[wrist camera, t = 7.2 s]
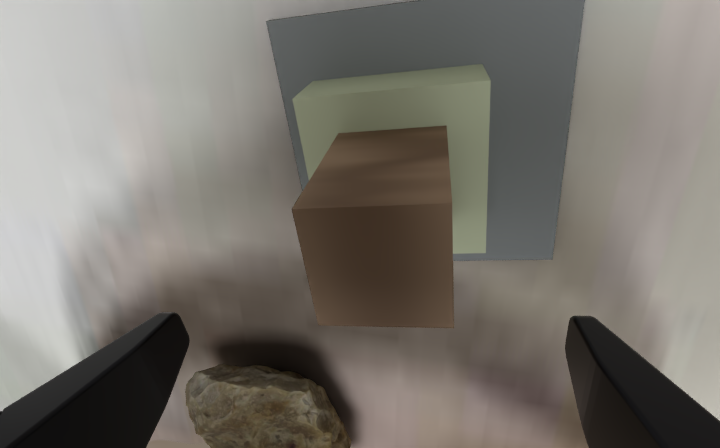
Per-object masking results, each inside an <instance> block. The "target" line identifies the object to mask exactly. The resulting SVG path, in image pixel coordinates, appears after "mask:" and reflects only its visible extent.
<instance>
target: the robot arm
mask: <svg viewBox="0 0 720 448" xmlns="http://www.w3.org/2000/svg"><path fill="white" fill-rule="evenodd" d="M188 346H189V335H188V333H187V331H186V328H185V326H184V324H183V322H182V320H181V317H180V316H179V315H178V314H177V313H175V312H162V313H159V314H157V315H155V316H154V317H152V318H151V319H149V320H147V321H146V322H144V323H142V324H141V325H139V326H138V327H136V328H134V329H133V330H131V331H129V332H128V333H126V334H125V335H123V336H121V337H120V338H118V339H116V340H115V341H113V342H112V343H110V344H108V345H107V346H105V347H103V348H102V349H100V350H99V351H97V352H95V353H94V354H92V355H91V356H89V357H87V358H86V359H84V360H82V361H81V362H79V363H78V364H76V365H74V366H73V367H71V368H69V369H68V370H66V371H65V372H63V373H61V374H60V375H58V376H56V377H55V378H53V379H52V380H50V381H48V382H47V383H45V384H43V385H42V386H40V387H39V388H37V389H35V390H34V391H32V392H30V393H29V394H27V395H26V396H24V397H22V398H21V399H19V400H17V401H16V402H14V403H13V404H11V405H9V406H8V407H6V408H5V409H4V410H3V411H0V448H146V446H147V444H148V442H149V440H150V438H151V436H152V434H153V432H154V430H155V428H156V426H157V424H158V422H159V420H160V418H161V416H162V413H163V411H164V409H165V407H166V405H167V402H168V400H169V397H170V395H171V392H172V390H173V387H174V384H175V382H176V379H177V376H178V374H179V371H180V368H181V365H182V363H183V360H184V357H185V355H186V352H187V349H188ZM565 352H566V358H567V362H568V367H569V371H570V376H571V380H572V385H573V389H574V394H575V398H576V403H577V407H578V412H579V416H580V420H581V424H582V428H583V431H584V434H585V438H586V441H587V443H588V446H589V448H720V421H719V420H718V419H717V418H715V417H714V416H713V415H712V414H711V413H709V412H708V411H707V410H706V409H705V408H703V407H702V406H701V405H700V404H699V403H697V402H696V401H695V400H694V399H693V398H691V397H690V396H689V395H688V394H686V393H685V392H684V391H683V390H682V389H680V388H679V387H678V386H677V385H676V384H674V383H673V382H672V381H671V380H670V379H668V378H667V377H666V376H665V375H664V374H662V373H661V372H660V371H659V370H658V369H656V368H655V367H654V366H653V365H651V364H650V363H649V362H648V361H647V360H645V359H644V358H643V357H642V356H641V355H639V354H638V353H637V352H636V351H635V350H633V349H632V348H631V347H630V346H629V345H627V344H626V343H625V342H624V341H622V340H621V339H620V338H619V337H618V336H616V335H615V334H614V333H613V332H612V331H610V330H609V329H608V328H607V327H606V326H604V325H603V324H602V323H601V322H600V321H598V320H597V319H596V318H594V317H592V316H573V317H571V318H570V320H569V325H568V331H567V337H566V344H565Z"/></svg>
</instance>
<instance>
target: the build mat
mask: <svg viewBox="0 0 720 448" xmlns="http://www.w3.org/2000/svg"><path fill="white" fill-rule="evenodd" d="M584 2H585V0H418V1H410V2H403V3H395V4H388V5H380V6H373V7H365V8H358V9H351V10H343V11H336V12H328V13H321V14H313V15H306V16H298V17H291V18H284V19H276V20H269V21H266V23H267V27H268V32H269V37H270V41H271V46H272V51H273V55H274V60H275V65H276V69H277V74H278V79H279V83H280V88H281V93H282V97H283V102H284V107H285V111H286V116H287V121H288V125H289V130H290V135H291V139H292V144H293V149H294V153H295V158H296V163H297V167H298V172H299V177H300V181H301V186H302V191H303V190H304V188H305V187H306V185H307V183H308V182H309V179H308V174H307V169H306V164H305V159H304V154H303V149H302V144H301V139H300V134H299V129H298V124H297V119H296V114H295V110H294V105H293V100H292V99H293V98H294V97H295V96H296V95H297V94H298V93H300V92H301V91H302V90H303V89H304V88H305V87H307V86H308V85H309V84H310V83H311V82H312V81H319V80H329V79H339V78H348V77H358V76H368V75H378V74H388V73H398V72H408V71H417V70H427V69H437V68H447V67H457V66H467V65H476V64H483V66H484V68H485V70H486V72H487V74H488V76H489V78H490V80H491V88H490V123H489V157H488V192H487V227H486V253H465V254H453V261H470V260H550V259H552V258H553V250H554V242H555V234H556V226H557V218H558V210H559V202H560V194H561V186H562V178H563V170H564V162H565V154H566V146H567V138H568V130H569V122H570V114H571V106H572V98H573V90H574V82H575V74H576V66H577V58H578V50H579V42H580V34H581V26H582V18H583V10H584Z"/></svg>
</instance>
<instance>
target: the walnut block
mask: <svg viewBox="0 0 720 448" xmlns="http://www.w3.org/2000/svg"><path fill="white" fill-rule="evenodd" d="M292 213H293V217H294V221H295V226H296V230H297V234H298V239H299V243H300V247H301V252H302V256H303V260H304V265H305V269H306V273H307V278H308V282H309V286H310V291H311V295H312V299H313V304H314V308H315V312H316V317H317V321H318V325H325V326H373V327H421V328H454V295H453V223H452V193H451V180H450V166H449V152H448V138H447V125H446V126H432V127H418V128H404V129H390V130H376V131H362V132H348V133H338V135H337V136H336V138H335V139H334V141H333V143H332V144H331V146H330V148H329V149H328V151H327V152H326V154H325V156H324V157H323V159H322V161H321V162H320V164H319V165H318V167H317V169H316V170H315V172H314V174H313V175H312V177H311V178H310V180H309V182H308V183H307V185H306V187H305V188H304V190H303V192H302V193H301V195H300V196H299V198H298V200H297V201H296V203H295V205H294V206H293V208H292Z"/></svg>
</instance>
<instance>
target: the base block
mask: <svg viewBox="0 0 720 448" xmlns="http://www.w3.org/2000/svg"><path fill="white" fill-rule="evenodd" d="M490 88H491V80H490V78H489V76H488V74H487V72H486V70H485V68H484V66H483V64H476V65H467V66H457V67H447V68H437V69H427V70H417V71H408V72H398V73H388V74H378V75H368V76H358V77H348V78H339V79H329V80H319V81H312V82H311V83H310V84H309V85H308V86H307V87H305V88H304V89H303V90H302V91H301V92H300V93H298V94H297V95H296V96H295V97H294V98H293V99H292V100H293V105H294V110H295V114H296V119H297V124H298V129H299V134H300V139H301V144H302V149H303V154H304V159H305V164H306V169H307V174H308V179H309V180H310V178H311V177H312V175H313V174H314V172H315V170H316V169H317V167H318V165H319V164H320V162H321V161H322V159H323V157H324V156H325V154H326V152H327V151H328V149H329V148H330V146H331V144H332V143H333V141H334V139H335V138H336V136H337V135H338V133H348V132H362V131H376V130H390V129H404V128H418V127H432V126H446V125H447V138H448V152H449V166H450V180H451V193H452V223H453V254H465V253H486V227H487V192H488V157H489V123H490Z"/></svg>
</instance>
